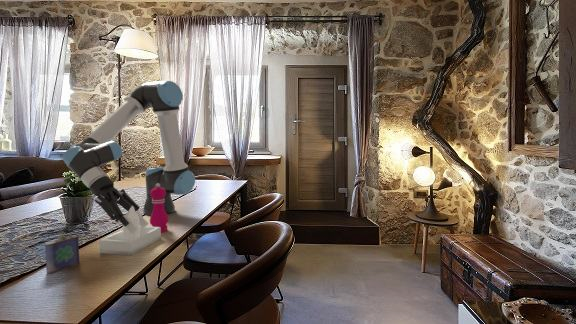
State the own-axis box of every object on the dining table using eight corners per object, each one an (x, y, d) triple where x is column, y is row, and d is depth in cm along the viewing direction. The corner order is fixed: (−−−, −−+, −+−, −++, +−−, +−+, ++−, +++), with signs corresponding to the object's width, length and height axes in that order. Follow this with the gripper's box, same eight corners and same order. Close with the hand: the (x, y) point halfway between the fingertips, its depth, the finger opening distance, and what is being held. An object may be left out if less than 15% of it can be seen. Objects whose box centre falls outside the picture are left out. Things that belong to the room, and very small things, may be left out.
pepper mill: (162, 234, 137) (160, 185, 135) (146, 232, 138) (144, 184, 136) (172, 228, 144) (170, 182, 142) (156, 227, 145) (155, 181, 143)
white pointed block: (121, 205, 123) (137, 203, 126) (122, 237, 124) (138, 234, 127) (122, 208, 118) (140, 206, 121) (124, 241, 119) (141, 239, 122)
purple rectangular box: (49, 274, 98) (46, 238, 97) (44, 272, 100) (41, 237, 99) (81, 263, 106) (79, 230, 105) (76, 262, 108) (74, 229, 107)
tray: (133, 236, 133) (132, 225, 133) (160, 238, 131) (160, 227, 131) (100, 253, 115) (99, 240, 115) (131, 255, 113) (131, 242, 113)
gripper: (109, 185, 133) (149, 227, 132) (71, 193, 115) (116, 243, 113) (121, 172, 132) (161, 215, 130) (84, 178, 113) (130, 229, 112)
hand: (140, 228), depth 122 cm, fingers closed on white pointed block, 6 cm apart
